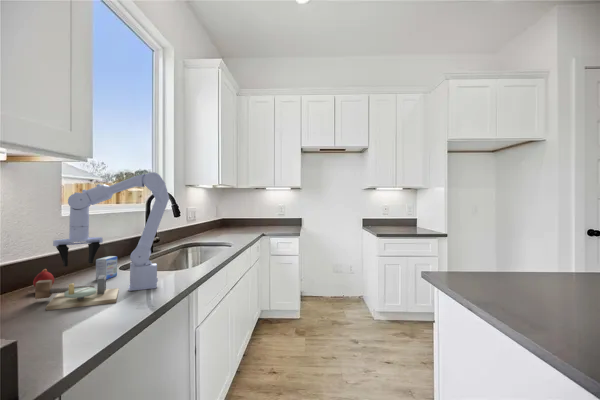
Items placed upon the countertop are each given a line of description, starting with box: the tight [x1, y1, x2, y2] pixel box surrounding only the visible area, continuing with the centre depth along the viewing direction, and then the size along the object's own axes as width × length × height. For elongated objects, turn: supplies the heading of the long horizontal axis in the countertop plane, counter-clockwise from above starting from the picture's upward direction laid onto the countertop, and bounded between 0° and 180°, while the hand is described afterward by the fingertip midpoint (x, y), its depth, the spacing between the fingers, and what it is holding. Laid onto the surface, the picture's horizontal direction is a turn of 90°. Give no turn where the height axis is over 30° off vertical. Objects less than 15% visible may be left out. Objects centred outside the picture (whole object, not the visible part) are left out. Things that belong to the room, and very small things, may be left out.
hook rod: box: [34, 280, 96, 300], centre depth 104 cm, size 16×4×5 cm, turn 117°
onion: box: [32, 268, 55, 288], centre depth 112 cm, size 6×6×8 cm
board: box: [45, 287, 120, 311], centre depth 103 cm, size 18×14×1 cm
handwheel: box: [64, 283, 97, 300], centre depth 100 cm, size 8×8×6 cm
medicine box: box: [95, 255, 118, 281], centre depth 134 cm, size 8×4×9 cm, turn 179°
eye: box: [96, 275, 107, 295], centre depth 108 cm, size 2×6×5 cm, turn 27°
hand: (78, 264), depth 112 cm, fingers open, 7 cm apart
